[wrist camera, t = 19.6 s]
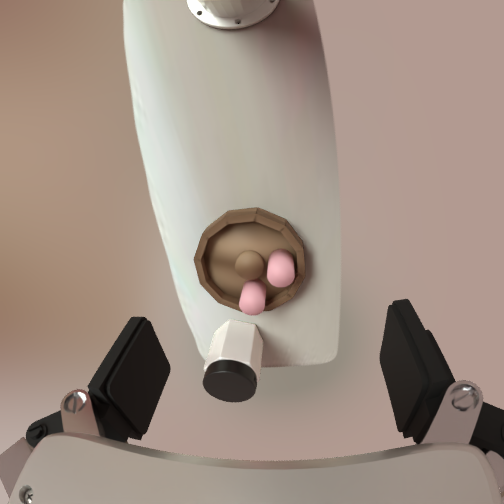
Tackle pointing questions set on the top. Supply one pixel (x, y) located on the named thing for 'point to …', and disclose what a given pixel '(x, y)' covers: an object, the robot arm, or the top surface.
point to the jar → (234, 362)
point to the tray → (246, 255)
